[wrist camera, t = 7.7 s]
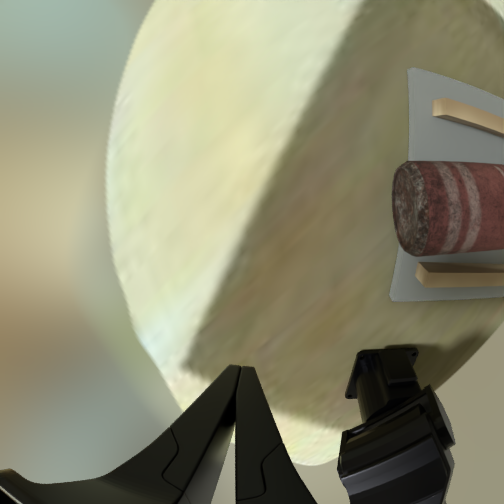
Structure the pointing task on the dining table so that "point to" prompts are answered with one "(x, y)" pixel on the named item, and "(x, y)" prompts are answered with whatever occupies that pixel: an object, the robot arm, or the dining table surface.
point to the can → (448, 207)
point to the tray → (461, 150)
